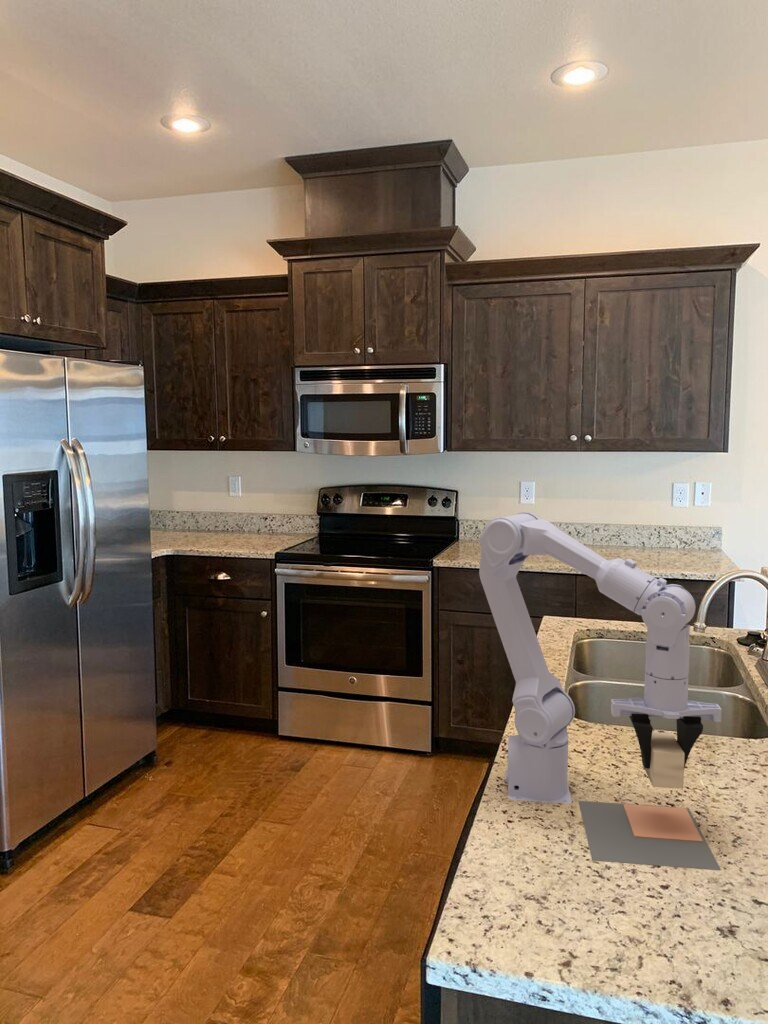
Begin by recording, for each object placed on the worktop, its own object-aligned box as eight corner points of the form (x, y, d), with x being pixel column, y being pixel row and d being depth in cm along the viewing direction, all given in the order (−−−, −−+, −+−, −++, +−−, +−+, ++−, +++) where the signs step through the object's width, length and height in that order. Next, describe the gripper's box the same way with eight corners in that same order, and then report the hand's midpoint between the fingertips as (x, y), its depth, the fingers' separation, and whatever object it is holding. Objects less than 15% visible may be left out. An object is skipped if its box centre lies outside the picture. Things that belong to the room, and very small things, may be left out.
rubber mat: (592, 862, 98) (592, 858, 98) (578, 803, 114) (578, 799, 113) (720, 873, 96) (721, 868, 95) (688, 810, 111) (688, 806, 111)
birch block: (642, 764, 110) (643, 732, 110) (670, 766, 110) (672, 733, 109) (652, 786, 103) (654, 752, 103) (683, 788, 103) (684, 753, 102)
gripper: (618, 680, 102) (614, 776, 103) (730, 685, 100) (725, 782, 101) (609, 664, 108) (606, 754, 110) (714, 668, 107) (710, 760, 108)
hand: (662, 766), depth 106 cm, fingers closed on birch block, 4 cm apart
